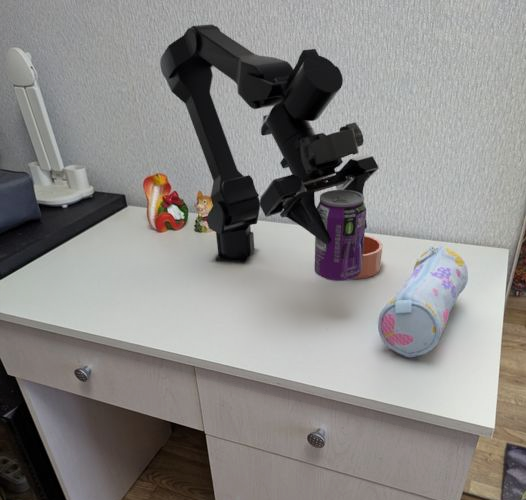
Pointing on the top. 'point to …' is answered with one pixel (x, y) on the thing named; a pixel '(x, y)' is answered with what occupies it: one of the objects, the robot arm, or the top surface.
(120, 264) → the top surface
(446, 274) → the pencil case
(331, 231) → the beverage can
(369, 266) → the can holder
